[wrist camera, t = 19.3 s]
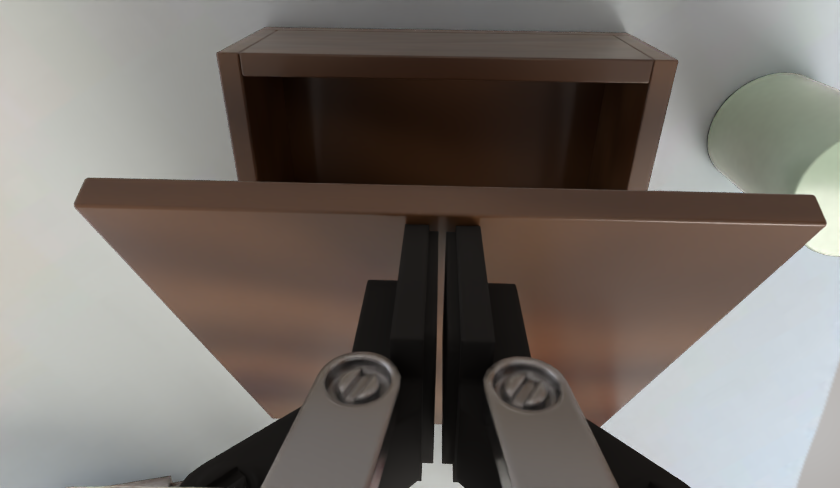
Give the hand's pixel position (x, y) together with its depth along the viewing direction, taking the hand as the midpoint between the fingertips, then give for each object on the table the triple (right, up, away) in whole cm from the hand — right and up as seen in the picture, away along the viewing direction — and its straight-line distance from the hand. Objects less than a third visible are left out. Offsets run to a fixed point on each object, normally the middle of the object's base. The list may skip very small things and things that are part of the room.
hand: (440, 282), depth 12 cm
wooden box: (0, +3, +15) cm, 15 cm away
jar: (+15, +6, +13) cm, 21 cm away
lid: (0, -2, +7) cm, 7 cm away
